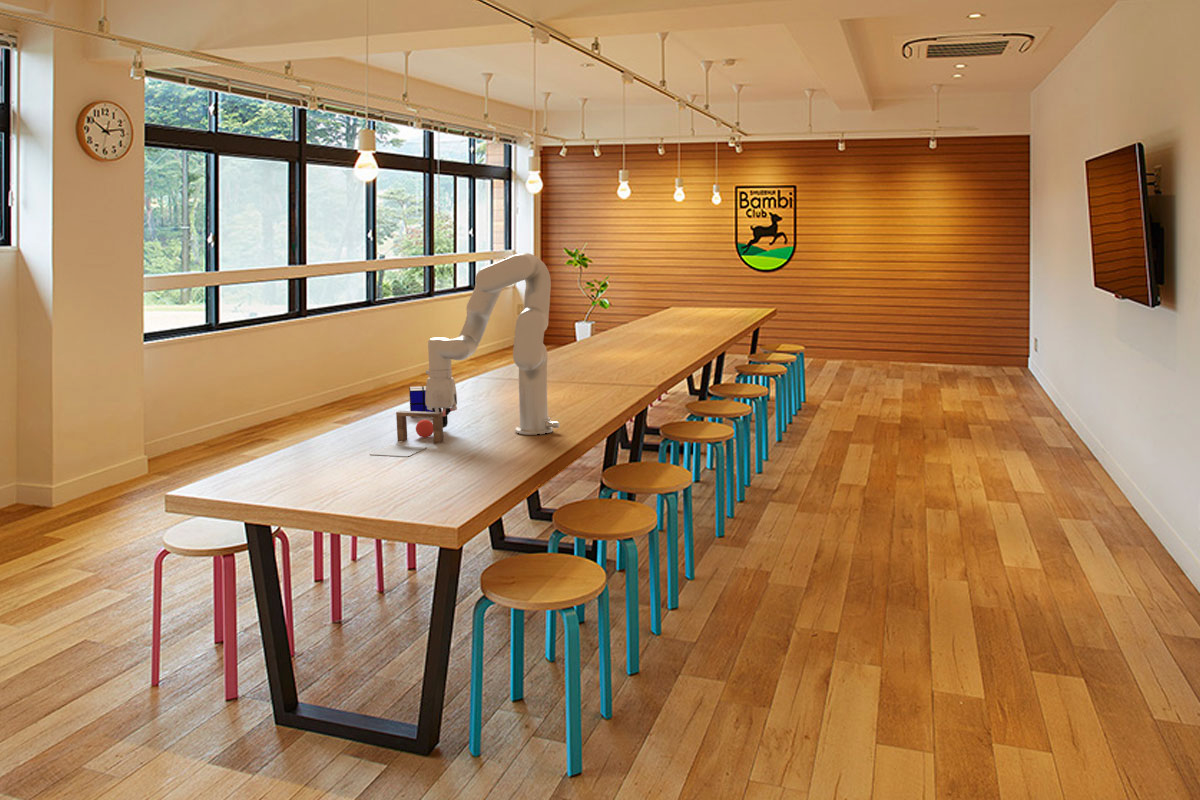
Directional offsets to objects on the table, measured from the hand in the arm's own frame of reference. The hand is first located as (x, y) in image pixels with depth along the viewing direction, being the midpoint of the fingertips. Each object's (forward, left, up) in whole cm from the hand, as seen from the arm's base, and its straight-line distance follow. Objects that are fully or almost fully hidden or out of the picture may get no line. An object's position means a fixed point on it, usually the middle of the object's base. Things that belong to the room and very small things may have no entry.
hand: (442, 426), depth 345 cm
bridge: (0, +17, -2) cm, 17 cm away
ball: (+1, +11, +2) cm, 11 cm away
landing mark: (0, +32, -2) cm, 32 cm away
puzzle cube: (+21, -28, -2) cm, 35 cm away
